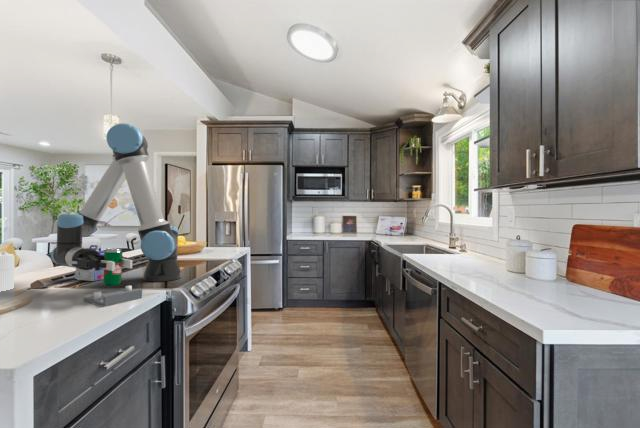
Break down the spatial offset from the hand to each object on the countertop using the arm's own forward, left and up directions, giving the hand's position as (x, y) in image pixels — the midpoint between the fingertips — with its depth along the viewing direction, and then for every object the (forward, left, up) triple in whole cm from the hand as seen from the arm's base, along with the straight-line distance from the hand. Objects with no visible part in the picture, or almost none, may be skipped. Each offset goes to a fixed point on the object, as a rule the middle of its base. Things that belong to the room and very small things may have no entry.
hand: (122, 265), depth 105 cm
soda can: (0, -5, -7) cm, 9 cm away
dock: (0, -5, -12) cm, 13 cm away
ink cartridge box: (-13, -44, -12) cm, 48 cm away
